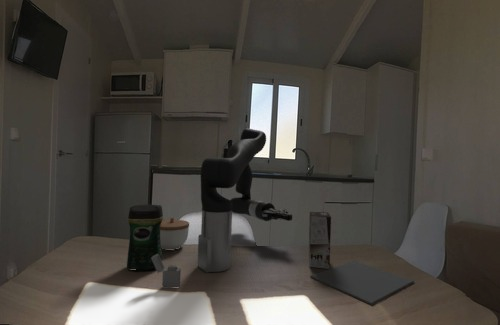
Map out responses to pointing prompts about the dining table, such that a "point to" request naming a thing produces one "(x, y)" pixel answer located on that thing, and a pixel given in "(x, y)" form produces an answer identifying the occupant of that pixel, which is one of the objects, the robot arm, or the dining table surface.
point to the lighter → (167, 272)
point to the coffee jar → (144, 236)
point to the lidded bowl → (173, 233)
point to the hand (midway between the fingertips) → (290, 217)
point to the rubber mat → (362, 281)
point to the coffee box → (319, 239)
